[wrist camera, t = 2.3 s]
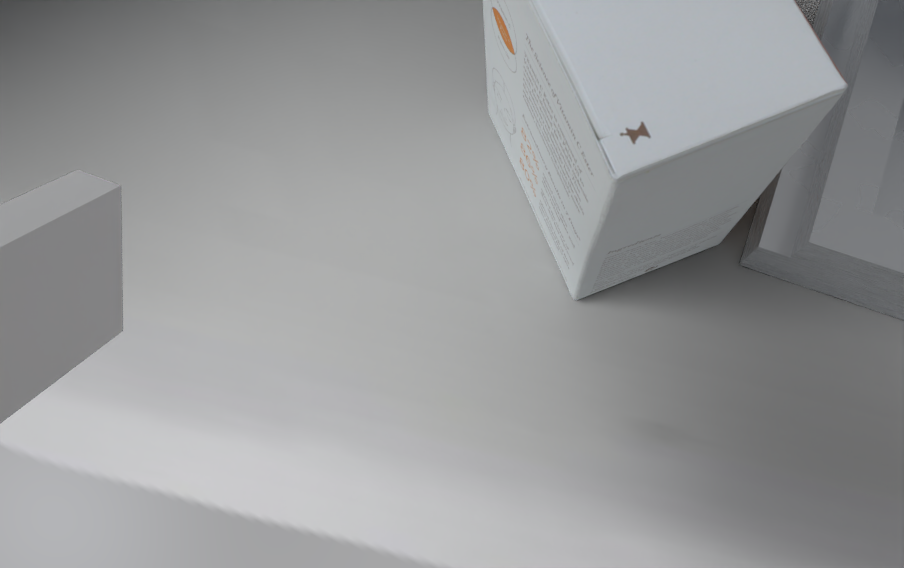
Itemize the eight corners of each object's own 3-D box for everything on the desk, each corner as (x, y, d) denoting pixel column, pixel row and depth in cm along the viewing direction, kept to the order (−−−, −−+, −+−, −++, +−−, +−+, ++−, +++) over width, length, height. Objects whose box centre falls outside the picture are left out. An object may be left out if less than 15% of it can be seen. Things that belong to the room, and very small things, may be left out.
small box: (721, 247, 26) (862, 93, 16) (570, 306, 26) (616, 187, 16) (623, 57, 28) (693, -186, 18) (483, 110, 28) (474, -106, 18)
